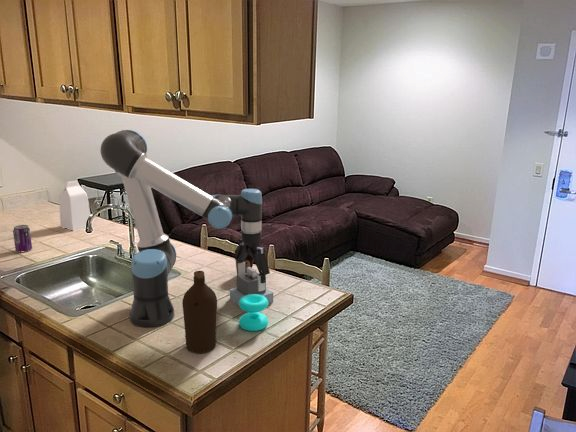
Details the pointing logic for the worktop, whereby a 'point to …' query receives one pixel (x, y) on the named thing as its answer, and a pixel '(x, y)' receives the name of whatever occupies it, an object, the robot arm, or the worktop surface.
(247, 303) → the donuts
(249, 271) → the post
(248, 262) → the coffee cup
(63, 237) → the worktop surface
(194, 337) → the olive oil
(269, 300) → the base
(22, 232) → the beverage can
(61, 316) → the worktop surface
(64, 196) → the milk
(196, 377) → the worktop surface
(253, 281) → the grey block
